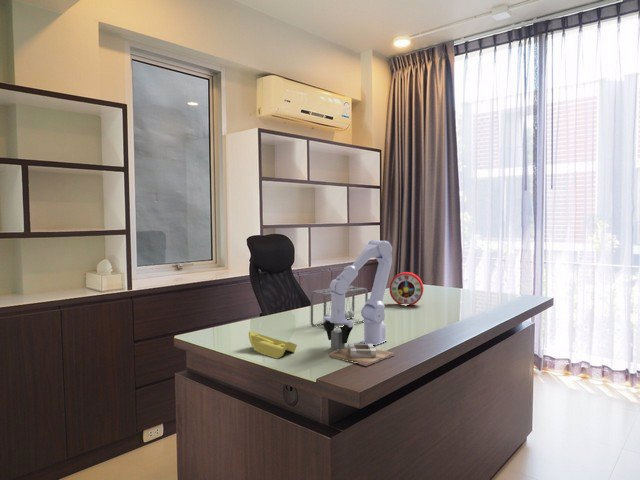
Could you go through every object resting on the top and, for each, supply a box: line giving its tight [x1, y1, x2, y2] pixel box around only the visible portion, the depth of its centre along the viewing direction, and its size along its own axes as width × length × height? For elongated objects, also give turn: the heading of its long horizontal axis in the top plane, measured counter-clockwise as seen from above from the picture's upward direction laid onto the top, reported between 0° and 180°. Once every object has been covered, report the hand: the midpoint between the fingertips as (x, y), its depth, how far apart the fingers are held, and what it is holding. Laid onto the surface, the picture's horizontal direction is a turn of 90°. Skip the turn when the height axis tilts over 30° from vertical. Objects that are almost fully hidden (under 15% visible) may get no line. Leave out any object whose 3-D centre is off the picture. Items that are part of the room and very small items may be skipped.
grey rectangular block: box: [330, 328, 346, 350], centre depth 188 cm, size 4×4×7 cm
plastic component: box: [248, 330, 298, 359], centre depth 183 cm, size 20×7×10 cm
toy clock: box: [388, 271, 424, 306], centre depth 278 cm, size 20×6×20 cm, turn 73°
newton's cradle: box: [310, 285, 369, 331], centre depth 228 cm, size 30×10×18 cm, turn 132°
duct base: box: [328, 343, 395, 364], centre depth 177 cm, size 18×18×4 cm
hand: (337, 341), depth 188 cm, fingers open, 7 cm apart
